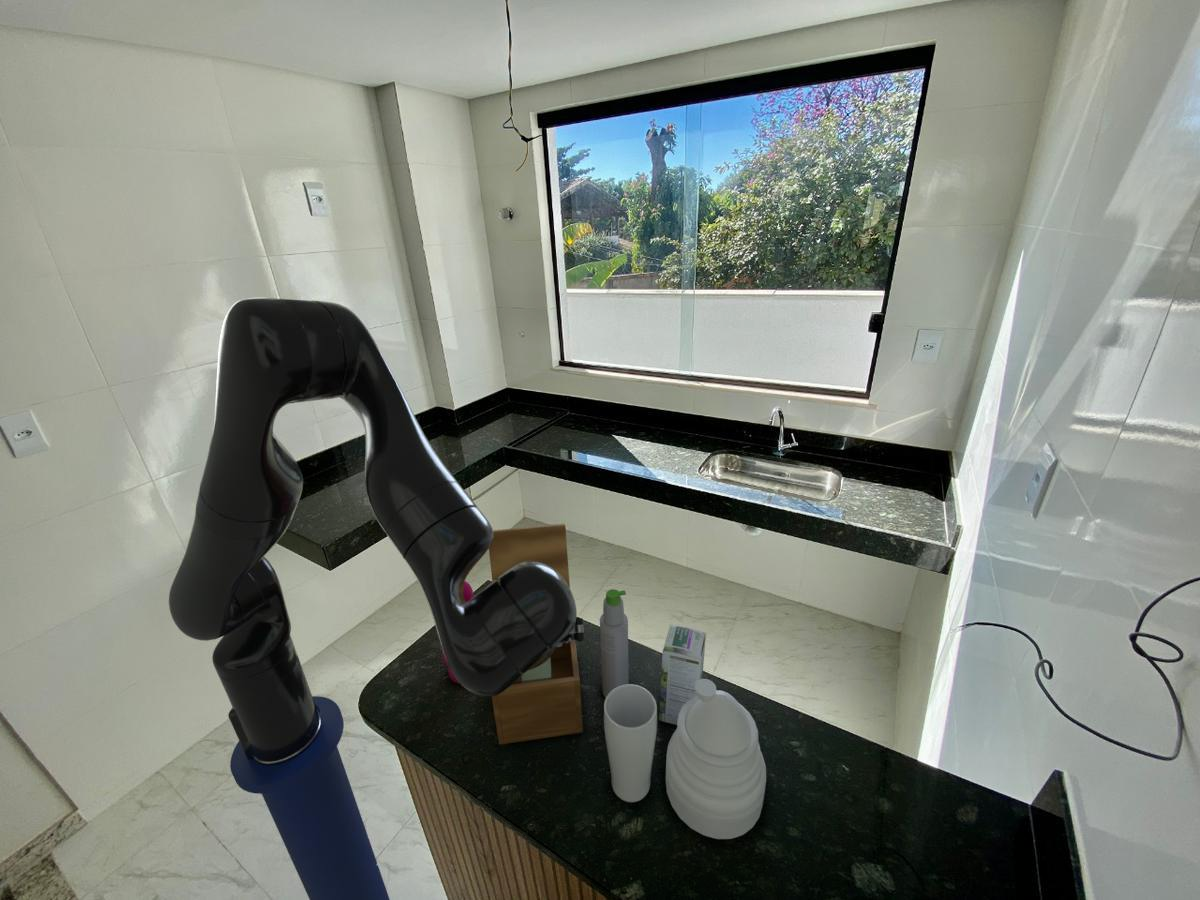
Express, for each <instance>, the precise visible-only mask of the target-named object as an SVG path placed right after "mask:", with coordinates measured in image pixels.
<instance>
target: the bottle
mask: <svg viewBox="0 0 1200 900" xmlns="http://www.w3.org/2000/svg"><path fill="white" fill-rule="evenodd" d="M625 595H627V592H626V590H618V589H615V588H612V589H611V588H610V589H609V590H607V591H606V593H605V597H604V599H603V604H602V605H603V606H602V614H601V615H600V617H599V636H600V659H601V661H600V663H601V665H600V666H601V687H602V689H601V690H602V695H603V697H604V698H605V699H606V697H607V695H608V694H609V693H610V692H611V691H612V690H613V689H614V688H616V687H618V686H621V685H626V684H630V683H629V681H630V680H629V678H630V677H629V620H628V616H627V615H626V613H625V608H624V599H623V598H622V597H621V596H625Z"/></svg>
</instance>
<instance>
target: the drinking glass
mask: <svg viewBox="0 0 1200 900" xmlns="http://www.w3.org/2000/svg"><path fill="white" fill-rule="evenodd" d="M603 731H604V732H603V733H604V738H605V745H606V751H607V757H608V762H609V763H608V764H609V769H610V781H611V787H612V790H613V792H614V794H615V795H616V796H617V797H618V798H619V799H620V800H622V801H624V802H627V803H636V802H639V801H641V800H643V799H644V798H645V797H646V796H647V795H648V793H649V791H650V789H651V781H652V777H651V776H652V769H653V762H654V755H655V749H656V743H657V742H656V741H657V734H658V733H657V732H658V705H657V702H656V699H655V697H654V695H653V694H652V693H651V692H650V691H649V690H648V689H646V688H644V687H643V686H641V685H637V684H634V683H629V684H626V685H621V686H618V687H616V688H614V689H613V690H612V691H611V692H610V693H609V694H608V695H607V697H606V698H605V699H604V702H603Z"/></svg>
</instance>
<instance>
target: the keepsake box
mask: <svg viewBox="0 0 1200 900" xmlns="http://www.w3.org/2000/svg"><path fill="white" fill-rule="evenodd" d="M550 658H551V669H552V679H551V680H544V681H536V682H529V683H522V676H521V677H520V678H519V679H518V680H516V681H515V682H514V683H513V684H512V685H511V686H510V687H508V688H507V689H506V690H505V691H503V692H502V693H500V694H498V695H496V696H492V697H491V701H492V708H493V714H494V721H495V728H496V733H497V734H496V735H497V739H498V744H499V745H507V744H514V743H521V742H526V741H532V740H533V741H534V740H541V739H547V738H555V737H560V736H567V735H572V734H573V735H576V734H582V733H583V732H584V725H583V714H582V713H583V712H582V695H581V693H582V692H581V679H580V672H579V670H580V669H579V663H578V662H579V661H578V654H577V646H576V640H571V642H569V643H565V642H563V644H562V646H561V647H556V648H555V651H554V652H553V654H552V655H551V657H550Z"/></svg>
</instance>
